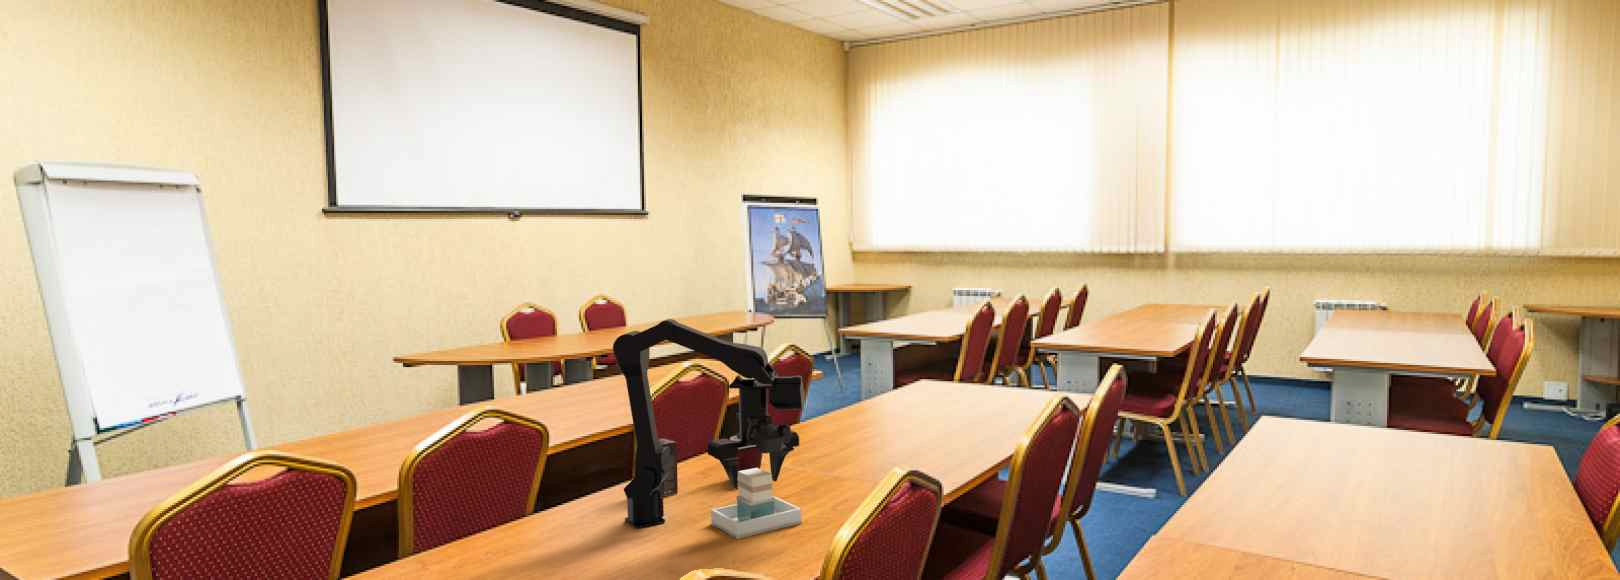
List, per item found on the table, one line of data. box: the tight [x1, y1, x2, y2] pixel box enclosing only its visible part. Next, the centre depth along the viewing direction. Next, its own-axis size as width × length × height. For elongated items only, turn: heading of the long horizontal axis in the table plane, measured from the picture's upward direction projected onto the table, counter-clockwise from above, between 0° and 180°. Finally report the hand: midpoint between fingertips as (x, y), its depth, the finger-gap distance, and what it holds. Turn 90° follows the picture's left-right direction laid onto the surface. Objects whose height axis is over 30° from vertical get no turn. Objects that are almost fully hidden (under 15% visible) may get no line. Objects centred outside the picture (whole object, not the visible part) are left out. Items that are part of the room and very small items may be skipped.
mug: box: [729, 434, 764, 475], centre depth 212 cm, size 11×8×10 cm
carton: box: [737, 468, 773, 502], centre depth 180 cm, size 6×4×5 cm
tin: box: [735, 494, 776, 521], centre depth 180 cm, size 6×6×5 cm
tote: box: [710, 495, 803, 540], centre depth 181 cm, size 15×11×3 cm
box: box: [657, 437, 679, 497], centre depth 204 cm, size 6×4×12 cm
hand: (755, 485), depth 180 cm, fingers open, 9 cm apart
